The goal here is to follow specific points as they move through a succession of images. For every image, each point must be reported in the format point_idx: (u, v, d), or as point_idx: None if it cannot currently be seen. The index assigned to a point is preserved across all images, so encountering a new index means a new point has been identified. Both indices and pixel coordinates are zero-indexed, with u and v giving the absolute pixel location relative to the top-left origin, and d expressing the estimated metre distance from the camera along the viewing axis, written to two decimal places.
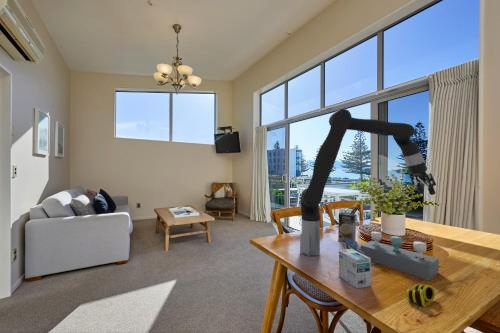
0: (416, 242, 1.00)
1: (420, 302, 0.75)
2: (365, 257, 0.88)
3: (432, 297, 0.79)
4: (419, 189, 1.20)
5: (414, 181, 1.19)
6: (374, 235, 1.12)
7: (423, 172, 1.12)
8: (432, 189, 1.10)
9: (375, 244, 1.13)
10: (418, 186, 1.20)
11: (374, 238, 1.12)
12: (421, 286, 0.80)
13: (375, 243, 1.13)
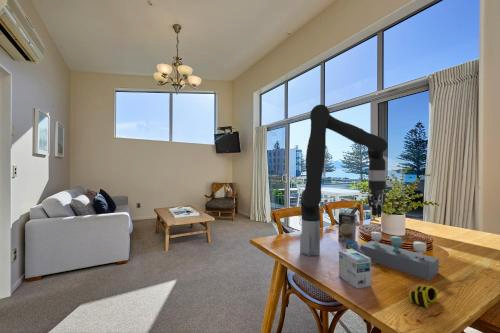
0: (416, 242, 1.00)
1: (423, 303, 0.74)
2: (365, 257, 0.88)
3: (434, 298, 0.78)
4: (377, 210, 1.15)
5: None
6: (374, 235, 1.12)
7: (372, 190, 1.11)
8: (373, 210, 1.12)
9: (375, 244, 1.13)
10: (377, 207, 1.15)
11: (374, 238, 1.12)
12: (423, 287, 0.80)
13: (375, 243, 1.13)
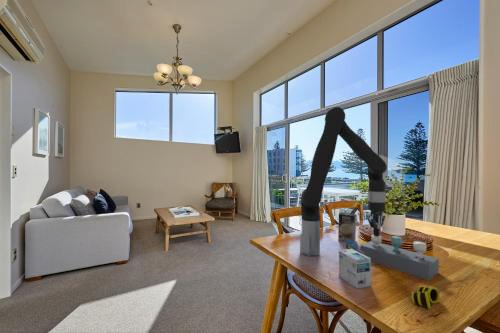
0: (416, 242, 1.00)
1: (425, 304, 0.74)
2: (365, 257, 0.88)
3: (436, 299, 0.78)
4: None
5: None
6: (374, 238, 1.12)
7: (372, 211, 1.11)
8: (375, 231, 1.13)
9: None
10: None
11: (374, 241, 1.12)
12: (425, 288, 0.79)
13: (375, 246, 1.13)
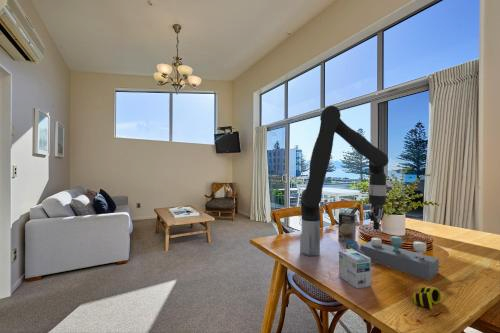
0: (416, 242, 1.00)
1: (428, 305, 0.73)
2: (365, 257, 0.88)
3: (438, 299, 0.77)
4: None
5: None
6: (374, 241, 1.12)
7: (372, 204, 1.11)
8: (375, 224, 1.13)
9: None
10: None
11: (374, 244, 1.12)
12: (427, 288, 0.79)
13: None
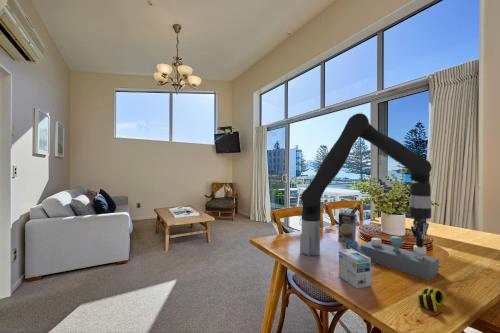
0: None
1: (432, 307, 0.72)
2: (365, 257, 0.88)
3: (441, 301, 0.77)
4: None
5: None
6: (374, 241, 1.12)
7: (416, 218, 0.97)
8: (418, 241, 0.98)
9: None
10: None
11: (374, 244, 1.12)
12: (430, 290, 0.78)
13: None
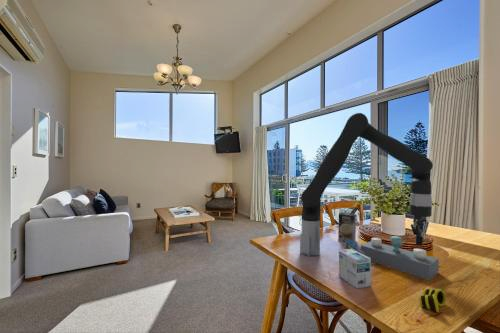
0: (416, 249, 1.00)
1: (434, 308, 0.72)
2: (365, 257, 0.88)
3: (443, 301, 0.76)
4: None
5: None
6: (374, 241, 1.12)
7: (416, 216, 0.97)
8: (418, 239, 0.98)
9: None
10: None
11: (374, 244, 1.12)
12: (432, 290, 0.78)
13: None
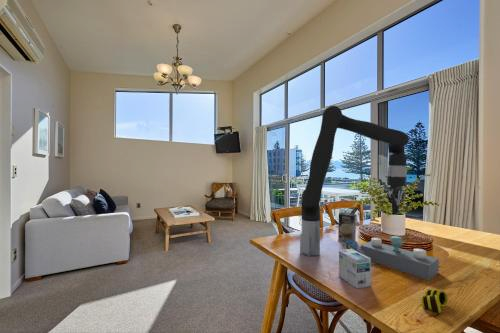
0: (416, 249, 1.00)
1: (436, 309, 0.71)
2: (365, 257, 0.88)
3: (445, 302, 0.76)
4: None
5: None
6: (374, 241, 1.12)
7: (392, 186, 1.06)
8: (394, 207, 1.07)
9: None
10: None
11: (374, 244, 1.12)
12: (433, 291, 0.77)
13: None
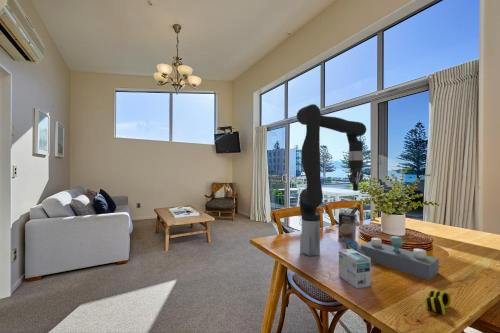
0: (416, 249, 1.00)
1: (440, 310, 0.71)
2: (365, 257, 0.88)
3: (448, 303, 0.75)
4: None
5: None
6: (374, 241, 1.12)
7: (351, 168, 1.28)
8: (354, 186, 1.29)
9: None
10: None
11: (374, 244, 1.12)
12: (436, 292, 0.76)
13: None
